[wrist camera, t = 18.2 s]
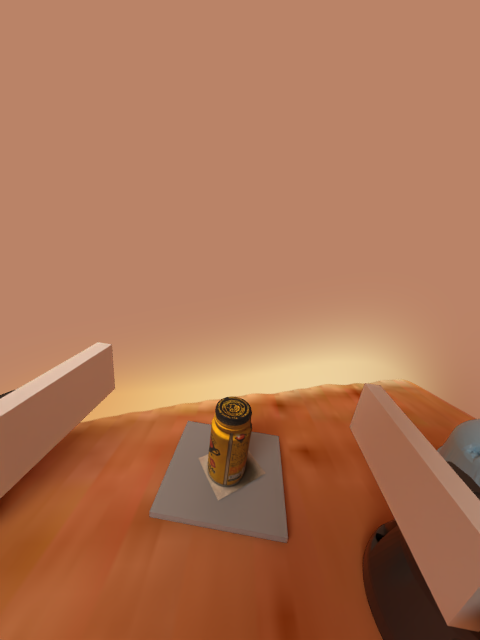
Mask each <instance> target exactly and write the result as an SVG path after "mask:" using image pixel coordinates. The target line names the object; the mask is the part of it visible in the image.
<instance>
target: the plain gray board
mask: <svg viewBox="0 0 480 640" xmlns="http://www.w3.org/2000/svg"><path fill="white" fill-rule="evenodd" d="M210 435H211V425H209V424H203V423H197V422H191V421H188V422H187V425H186V427H185V429H184V432H183V434H182V436H181V439H180V441H179V443H178V446H177V448H176V450H175V453H174V455H173V458H172V460H171V462H170V465H169V467H168V469H167V472H166V474H165V476H164V479H163V481H162V483H161V486H160V488H159V491H158V493H157V495H156V498H155V500H154V502H153V505H152V507H151V509H150V517H153V518H158V519H164V520H169V521H174V522H179V523H184V524H190V525H195V526H200V527H205V528H211V529H216V530H221V531H226V532H232V533H237V534H242V535H247V536H252V537H258V538H263V539H268V540H273V541H279V542H284V543H287V540H288V532H287V521H286V510H285V499H284V488H283V478H282V467H281V456H280V445H279V436H275V435H269V434H263V433H257V432H251V437H250V443H249V449H248V450H249V452H250V453H251V454H252V456H253V457H254V459H255V460H256V461H257V463H258V464H259V465H260V467H261V468H262V469H263V470H264V472H265V474H263V475H262V476H260V477H258V478H257V479H255V480H253V481H252V482H250V483H248V484H246V485H245V486H243V487H241V488H240V489H238V490H236V491H235V492H232V493H231V494H229V495H227V496H225V497H224V498H222V499H220V500H218V499H217V497H216V495H215V493H214V491H213V489H212V487H211V485H210V483H209V481H208V478H207V476H206V474H205V472H204V470H203V467H202V465H201V463H200V461H199V458H200V457H203V456H205V455H207V454H209V445H210Z"/></svg>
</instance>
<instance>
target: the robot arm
mask: <svg viewBox="0 0 480 640" xmlns="http://www.w3.org/2000/svg"><path fill="white" fill-rule="evenodd" d="M114 389H115V384H114V368H113V356H112V344H105V343H99V342H98V343H96V344H94V345H93V346H91V347H89V348H87V349H86V350H84V351H82V352H80V353H79V354H77V355H75V356H74V357H72V358H70V359H68V360H67V361H65V362H63V363H61V364H60V365H58V366H56V367H54V368H53V369H51V370H50V371H48V372H46V373H44V374H42V375H41V376H39V377H37V378H35V379H34V380H32V381H30V382H28V383H27V384H25V385H23V386H22V387H20V388H18V389H16V390H13V391H10V392H7V393H5V394H2V395H0V498H1V497H3V496H4V495H5V494H6V493H7V492H8V491H9V490H10V489H11V488H12V487H13V486H14V485H15V484H16V483H17V482H18V481H19V480H20V479H21V478H22V477H23V476H24V475H25V474H26V473H28V472H29V471H30V470H31V469H32V468H33V467H34V466H35V465H36V464H37V463H38V462H39V461H40V460H41V459H42V458H43V457H44V456H45V455H46V454H47V453H48V452H49V451H50V450H51V449H53V448H54V447H55V446H56V445H57V444H58V443H59V442H60V441H61V440H62V439H63V438H64V437H65V436H66V435H67V434H68V433H69V432H70V431H71V430H72V429H73V428H74V427H75V426H76V425H78V424H79V423H80V422H81V421H82V420H83V419H84V418H85V417H86V416H87V415H88V414H89V413H90V412H91V411H92V410H93V409H94V408H95V407H96V406H97V405H98V404H99V403H100V402H101V401H103V400H104V399H105V397H107V395H109V394H110V393H111V392H112V391H113V390H114ZM350 429H351V431H352V433H353V435H354V437H355V439H356V441H357V443H358V445H359V447H360V449H361V451H362V453H363V455H364V457H365V459H366V461H367V463H368V465H369V467H370V469H371V471H372V473H373V475H374V477H375V479H376V481H377V484H378V486H379V488H380V490H381V492H382V494H383V496H384V498H385V500H386V502H387V504H388V506H389V508H390V510H391V512H392V514H393V516H394V518H395V519H394V520H391V521H389V522H387V523H385V524H383V525H381V526H380V527H379V528H378V529H377V530H376V531H375V532H374V533H373V535H372V537H371V539H370V541H369V543H368V545H367V547H366V549H365V553H364V558H363V577H364V584H365V590H366V594H367V598H368V601H369V605H370V608H371V611H372V614H373V616H374V619H375V622H376V624H377V626H378V629H379V631H380V633H381V635H382V637H383V640H480V419H475V420H469V421H466V422H463V423H461V424H460V425H458V426H457V427H456V428H455V429H454V430H453V431H452V433H451V435H450V436H449V438H448V439H447V441H446V442H445V444H444V445H443V446H441V447H440V448H439V449H438V450H436V449H435V448H434V447H433V446H432V445H431V443H430V442H429V441H428V440H427V439H426V438H425V437H424V435H423V434H422V433H421V432H420V431H419V430H418V428H417V427H416V426H415V425H414V424H413V423H412V422H411V420H410V419H409V418H408V417H407V416H406V415H405V413H404V412H403V411H402V410H401V409H400V408H399V406H398V405H397V404H396V403H395V402H394V401H393V400H392V398H391V397H390V396H389V395H388V394H387V393H386V391H385V390H384V389H383V388H382V387H381V386H380V385H373V384H366V383H365V384H364V387H363V390H362V393H361V396H360V398H359V401H358V404H357V407H356V410H355V413H354V416H353V419H352V421H351V424H350Z"/></svg>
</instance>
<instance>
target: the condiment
mask: <svg viewBox="0 0 480 640" xmlns="http://www.w3.org/2000/svg"><path fill="white" fill-rule="evenodd" d="M251 415H252V411H251V407H250V405H249V404H248V403H247V402H246V401H245V400H243V399H241V398H237V397H226V398H224V399H221V400H220V401H219V402H218V403H217V406H216V409H215V416H214V418H213V420H212V425H211V435H210V445H209V454H207V455H205V456H203V457H200V458H199V461H200V463H201V465H202V467H203V470H204V472H205V474H206V476H207V478H208V481H209V483H210V485H211V487H212V489H213V491H214V493H215V495H216V497H217V499H218V500H220V499H222V498H224V497H225V496H227V495H229V494H231V493H232V492H235V491H236V490H238V489H240V488H241V487H243V486H245V485H246V484H248V483H250V482H252V481H253V480H255V479H257V478H258V477H260V476H262V475H263V474H265V472H264V470H263V469H262V468H261V467H260V465H259V464H258V463H257V461H256V460H255V459H254V457H253V456H252V454H251V453H250V452H249V450H248V449H249V443H250V437H251V431H252V424H251Z"/></svg>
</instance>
